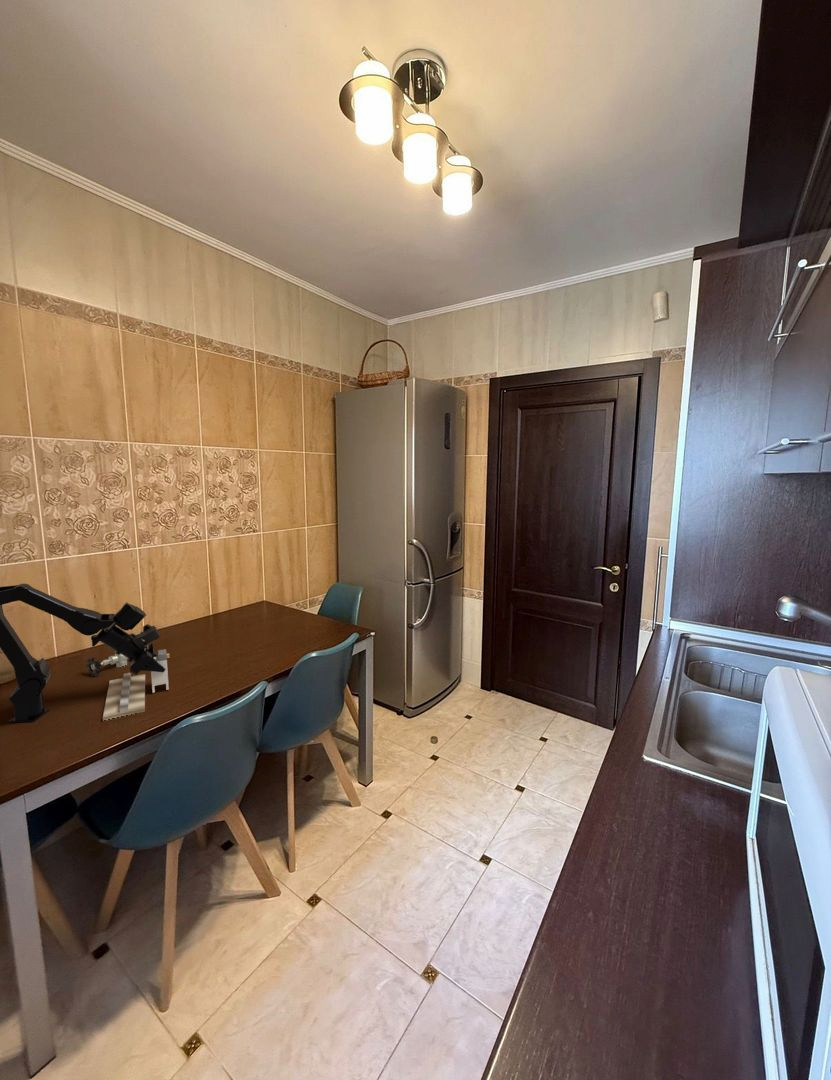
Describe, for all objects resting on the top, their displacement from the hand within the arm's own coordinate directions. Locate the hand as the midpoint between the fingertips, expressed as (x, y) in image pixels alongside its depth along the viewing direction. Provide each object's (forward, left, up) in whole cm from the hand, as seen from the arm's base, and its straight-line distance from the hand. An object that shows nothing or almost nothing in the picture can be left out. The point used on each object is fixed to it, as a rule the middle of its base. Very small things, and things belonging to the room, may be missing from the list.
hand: (164, 667), depth 142 cm
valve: (+16, +26, -7) cm, 31 cm away
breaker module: (-1, +1, -7) cm, 7 cm away
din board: (-5, +10, -7) cm, 13 cm away
